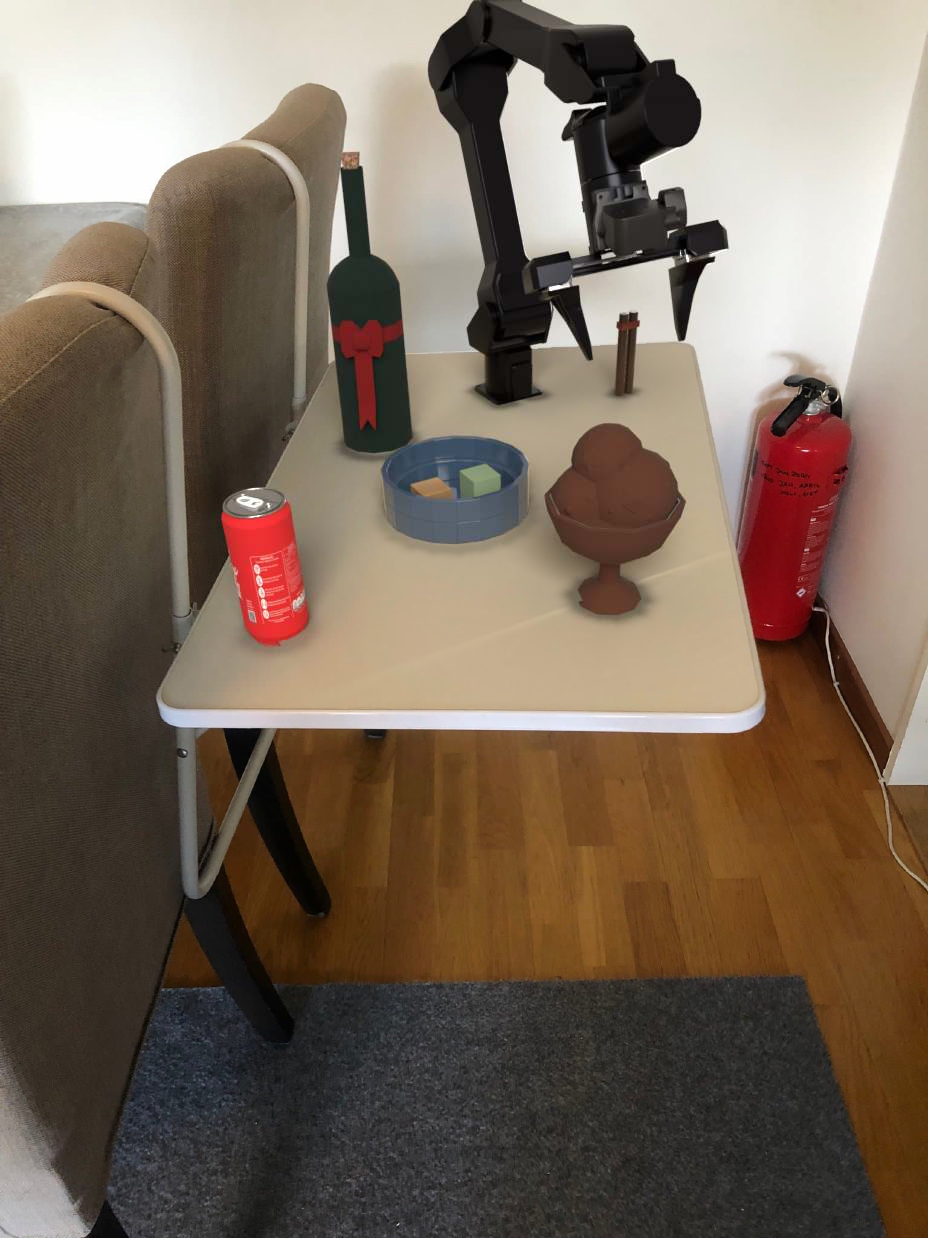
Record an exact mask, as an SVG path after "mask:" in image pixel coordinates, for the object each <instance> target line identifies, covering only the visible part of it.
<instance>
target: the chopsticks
mask: <svg viewBox="0 0 928 1238" xmlns="http://www.w3.org/2000/svg"><path fill="white" fill-rule="evenodd" d="M640 325H641V320H640V319H639V310H636V309H631V310H629V311H628V312H620V313H619V314H618V321H616V325H615V328H616V329H617V330H618V331H617V347H616V361H615V362H616V363H615V381H614V395H615V396H618V397H619V396H620V397H621V396H623V395H624V393H625V394H633V392H634V390H633V389H634V379H635V377H634V375H635V367H636V366H635V365H636V352H637V351H636V350H637V339H638V338H637V335H638V328H640Z"/></svg>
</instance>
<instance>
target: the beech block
mask: <svg viewBox="0 0 928 1238" xmlns="http://www.w3.org/2000/svg"><path fill="white" fill-rule="evenodd" d="M411 493H412V494H415V495H420V496H425V497H430V498H445V499H452V489H451V488H450V487H449V486H448V485H446V484H445V483H444V482H443V481H442V480H441V479H439V478H438V477H435V478H432V479H428V480H424V481H421V482H417V483H414V484H411Z"/></svg>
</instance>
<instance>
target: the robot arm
mask: <svg viewBox="0 0 928 1238" xmlns="http://www.w3.org/2000/svg"><path fill="white" fill-rule="evenodd" d="M635 35H636V34H635V33H634V32H633V30H632V28H630V27H629V26H627V25H626V24H625V25H624V24H610V23H609V24H607V23H605V24H604V23H602V24H601V23H600V24H599V23H598V24H597V23H595V24H577V23H576V24H575V23H573V22H570V21H568V20H566V19H564V18H561V17H559V16H557V15H555V14H552V13H550V12H548V11H545V10H544V9H543V10H542V9H540V8H537V7H536V6H533V5H531V4H529V3H527V2H524V1H523V0H472V1H471V2H470V4H469V6H468V8H467V9H466V12H465V14H464V15H463V16H461V18H459V19H458V20H457V21H456V22H455V23H453V24H452V25H451V26H449V27H448V28H447V29H446V30H444V32H442V33H441V34H440V35H439V38H438V40H437V41H436V44H435V46H434V47H433V50H432V52H431V54H430V56H429V59H428V62H427V77H428V82H429V85H430V87H431V89H432V90H433V94H434V97H435V100H436V104H437V107H438V111H439V113H440V114H441V116H442V117H443V118H444V119H445V120H446V121H447V122H448V124H449V125H450V126H451V127H452V128H453V131H455V132H456V134H457V136H458V138H459V142H460V143H459V144H460V148H461V149H460V150H461V153H462V157H463V163H464V167H465V173H466V178H467V182H468V188H469V192H470V198H471V203H472V209H473V212H474V213H473V214H474V218H475V222H476V227H477V234H478V237H479V238H478V239H479V242H480V243H479V244H480V247H481V254H482V258H483V262H484V268H483V271H482V274H481V277H480V281H479V284H478V287H477V290H476V297H477V298H476V299H477V306H478V307H477V309H476V311H475V313H474V314H473V316H472V317H471V320H470V321H469V322H468V324H467V326H466V336H467V340H468V345H469V347H471V348H472V349H474V350H476V351H478V352H479V353H481V354H482V355H484V382H483V383H478V384H475V385H474V390H475V391H476V392H477V393H479V394H480V395H482V396H483V397H485V398H486V399H488V400H490V401H491V402H492V403H494V404H496V405H498V406H502V405H506V404H510V403H514V402H519V401H523V400H526V399H530V398H534V397H539V396H542V395H543V389H541V388H540V387H537V386H536V385H534V384H533V374H534V373H533V372H534V371H533V367H534V365H533V348H532V346H536V345H540V344H542V345H543V344H547V342H548V338H549V334H550V329H551V325H552V322H553V321H552V320H553V317H554V310H556V311H557V312H558V314H559V315H560V317H561V318H562V320H563V321H564V322H565V324H566V325H567V327H568V329H569V331H570V332H571V334H572V336H573V338H574V339H575V341H576V343H577V345H578V348H580V351H581V352H582V354H583V356H584V358H585V360H586V361H587V362H591V361H593V360H594V356H593V349H592V342H591V338H590V333H589V330H588V326H587V321H586V318H585V314H584V311H583V307H582V301H581V300H582V299H581V289H580V284H576V285H574V283H573V282H574V281H573V279H576V278H580V277H586V276H591V275H595V274H600V273H604V272H609V271H613V270H618V269H623V268H628V267H632V266H638V265H642V264H648V263H652V262H657V261H661V260H665V259H671V258H672V260H673V264H674V266H673V267H670V268H668V269H667V270H668V280H669V289H670V298H671V307H672V315H673V325H674V329H675V334H676V338H677V341H678V342H684V341H686V338H687V332H688V327H689V322H690V318H691V317H690V316H691V311H692V306H693V302H694V296H695V293H696V289H697V287H698V284H699V280H700V278H701V276H702V275H703V272H704V270H705V268H706V266H708V265H711V264H714V263H715V262H716V258H717V257H716V256H715V254H718V253H721V252H724V251H727V250H729V249H730V247H729V246H730V245H729V239H728V230H727V228H726V226H725V224H723V223H722V222H721V221H720V220H719V219H714V220H708V221H704V222H700V223H695V224H690V225H687V224H688V207H687V201H686V195H685V189H684V188H682V187H681V186H674V187H669V188H664V189H660V190H659V191H658V193H657V198H653V199H652V198H651V196H650V191H649V186H648V184H647V179H644V177H643V171H642V166H643V165H646V164H648V163H650V162H652V161H654V160H657V159H658V158H661V157H663V156H665V155H668V154H669V153H672V152H673V151H675V150H677V149H679V148H682V147H684V146H686V145H688V144H689V143H690V142H692V141H693V140H694V138H695V136H696V135H698V132H699V129H700V126H701V121H702V103H701V99H700V98H699V97H698V96H697V93H696V91H695V89H694V87H693V86H692V84H691V82H689V81H688V80H687V79H686V77H683V76H682V75H681V74H679V73H677V67H676V60H675V59H674V58H666V59H656V60H653V61H650V60H649V59H648V57H647V56H646V55H645V53H644V52H643V51H642V49H641V47H640V46H639V44H637V42H636V41H635V40H636V36H635ZM519 60H520V61H522V62H524V63H526V64H528V65H529V66H531V67H533V68H536V70H537V69H538V70H539V71H540V72H541V73H543V84H544V86H545V87H546V88H547V90H548V91H550V92H551V93H552V94H553V95H554V96H555V97H556V98H557V99H558V100H559V101H560V102H562V103H563V104H567V105H570V104H577V105H579V106H583V105H593V104H600V105H597V106H595V107H593V108H592V107H587V108H577V109H573V110H571V113H570V117H569V120H568V121H567V123H566V124H565V126H564V127H563V129H562V131H561V135H560V136H561V137H560V139H561V141H562V142H571V141H572V142H573V147H574V148H573V149H574V154H575V159H576V166H577V175H578V179H579V186H580V193H581V198H582V201H581V208H582V213H584V218H585V224H586V231H587V237H588V238H587V239H588V244H589V245H588V253H589V254H587V255H586V254H585V255H581V256H577V257H572V256H571V254H570V251H569V250H566V251H561V252H556V253H551V254H547V255H542V256H537V257H533V258H529V257H528V255H527V252H526V249H525V248H526V247H525V243H524V239H523V238H524V237H523V234H522V233H523V232H522V228H521V223H520V216H519V213H518V212H519V211H518V207H517V202H516V197H515V191H514V186H513V181H512V180H513V179H512V175H511V170H510V164H509V158H508V154H507V149H506V144H505V139H504V133H503V129H502V117H503V113H504V111H505V107H506V104H507V101H508V97H509V95H510V94H509V93H510V85H509V77H510V75H511V74H512V72H513V71H514V69H515V67H516V66H517V65H518V63H519ZM602 103H603V104H602ZM604 103H605V104H604ZM601 104H602V105H601ZM671 231H672V232H671ZM669 232H670V233H669ZM640 251H641V252H640ZM608 254H613V255H614V256H611V257H605V258H603V257H602V256H605V255H608ZM713 255H714V256H713Z"/></svg>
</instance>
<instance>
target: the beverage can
mask: <svg viewBox="0 0 928 1238" xmlns="http://www.w3.org/2000/svg"><path fill="white" fill-rule="evenodd" d="M221 522H222V523H221V524H222V527H223V532H224V536H225V541H226V546H227V550H228V554H229V555H228V556H229V560H230V564H231V570H232V574H233V578H234V583H235V587H236V592H237V596H238V601H239V606H240V610H241V611H240V612H241V615H242V620H243V625H244V628H245V629H246V631H247V632H248V633H249V634H250V635H251V637H252V639H253V640H254V642H256V643H258V644H259V645H262V646H266V647H280V646H282V645H281V643H280V642H283V641H288V640H290V639H292V638H294V637H296V636H298V635H299V634H301V633H302V632H303V631H304V629H305V628H306V626H307V623H308V620H309V608H308V604H307V597H306V592H305V591H306V590H305V585H304V579H303V574H302V567H301V562H300V556H299V549H298V544H297V543H298V541H297V537H296V531H295V525H294V518H293V513H292V508H291V504H290V503H289V502H288V500H287V497H286V495H285V494H284V493H283V491H281V490H279V489H276V488H272V487H263V486H262V487H251V488H245V489H242V490H239V491H237V492H235V493H233V494H231V495H229V496H228V497H227V498H226V499H224V501H223V503H222V513H221Z"/></svg>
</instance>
